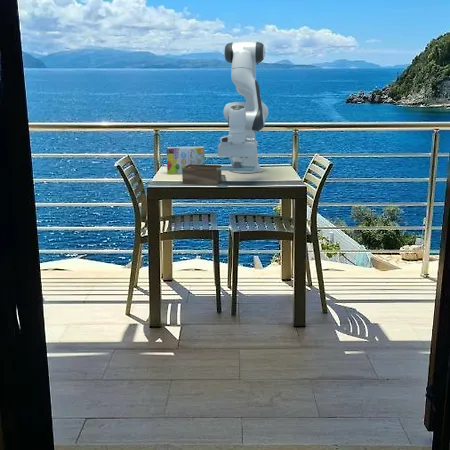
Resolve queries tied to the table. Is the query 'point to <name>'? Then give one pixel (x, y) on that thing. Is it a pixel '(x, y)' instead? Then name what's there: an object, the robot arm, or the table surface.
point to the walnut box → (201, 174)
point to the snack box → (183, 158)
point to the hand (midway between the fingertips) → (237, 165)
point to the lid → (237, 167)
